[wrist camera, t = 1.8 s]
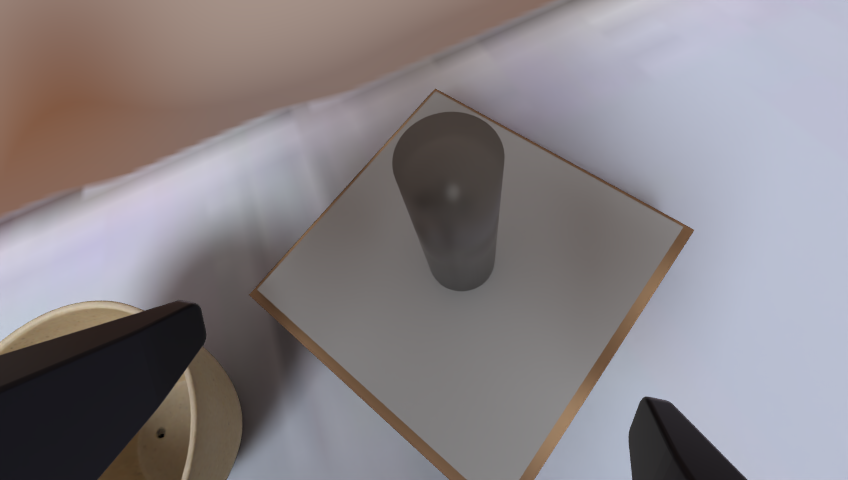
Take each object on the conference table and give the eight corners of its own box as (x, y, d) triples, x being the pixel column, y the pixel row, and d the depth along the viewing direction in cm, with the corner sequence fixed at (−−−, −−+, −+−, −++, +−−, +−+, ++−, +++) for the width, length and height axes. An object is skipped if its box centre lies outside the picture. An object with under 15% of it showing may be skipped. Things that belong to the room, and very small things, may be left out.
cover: (499, 505, 15) (520, 628, 7) (263, 292, 19) (105, 214, 11) (677, 232, 17) (841, 92, 10) (436, 98, 22) (411, -77, 14)
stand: (499, 507, 17) (502, 528, 14) (278, 308, 22) (249, 294, 19) (665, 253, 20) (694, 230, 17) (440, 123, 25) (435, 88, 22)
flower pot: (107, 352, 22) (-53, 332, 16) (284, 312, 22) (198, 273, 15) (84, 578, 18) (-141, 679, 12) (298, 536, 18) (191, 616, 11)
